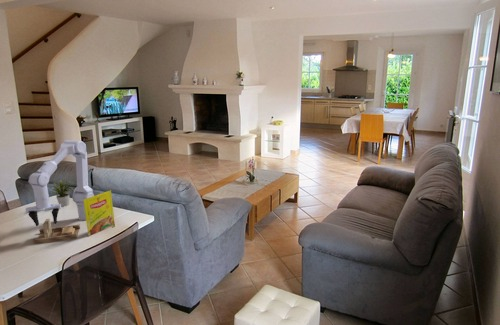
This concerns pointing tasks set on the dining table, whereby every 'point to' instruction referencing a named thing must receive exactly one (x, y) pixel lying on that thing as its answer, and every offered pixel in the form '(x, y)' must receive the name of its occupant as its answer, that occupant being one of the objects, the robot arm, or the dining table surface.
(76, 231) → the walnut rack
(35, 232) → the dining table surface
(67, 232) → the oak offcut stack
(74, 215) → the dining table surface
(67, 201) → the house plant
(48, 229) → the birch sheet
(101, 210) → the food package
